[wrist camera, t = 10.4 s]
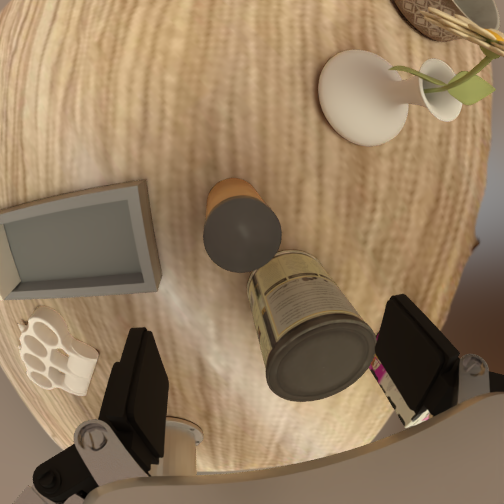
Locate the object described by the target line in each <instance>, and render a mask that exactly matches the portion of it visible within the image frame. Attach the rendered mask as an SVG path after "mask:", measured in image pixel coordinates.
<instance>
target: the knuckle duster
mask: <svg viewBox="0 0 504 504" xmlns="http://www.w3.org/2000/svg"><path fill="white" fill-rule="evenodd" d="M46 325H47V326H48V327H49V328H50V329H51V330H53V331H54V332H53V331H51V330H50V329H49V328H48V327H47V326H46ZM18 326H19V328H20V330H21V332H22V334H21V336H20V338H19V339H20V342H21V345H18V346H17V347H18V348H19V349H20V350H19V352H20V356H21V359H22V360H23V362H24V363H25V365H26V368H27V371H26V374H27V376H28V377H29V378H30V379H31V380H32V381H33V382H34V383H35V384H36V385H38V386H40V387H41V388H44V389H48V390H51V389H54V388H55V387H56V388H61V389H63V390H65V391H67V392H69V393H72V394H75V395H78V396H85V395H86V394H87V391H88V387H89V384H90V381H91V378H92V375H93V371H94V368H95V365H96V363H97V360H98V357H99V354H98V352H97V351H96V349H95V348H93V347H92V346H90V345H88V344H86V343H84V342H82V341H79V340H77V339H75V338H73V336H72V335H71V334H70V333H69V331H68V326H67V324H66V322H65V320H64V319H63V317H62V316H61V315H60V314H59V313H58V312H57V311H55V310H54V309H52V308H50V307H47V306H40V307H38V308H37V309H36V310H35V311H34V312H33V314H32V315H31V317H30V318H29V319H28V324H27V325H24V324H20V323H18ZM58 348H61V349H63V350H64V351H65V352H66V353H67V354H68V355H69V357H67V356H66V355H64V354H62V353H60V352H59V351H58V350H57V349H58ZM59 371H61V372H63V373H65V374H62V373H60V372H59Z"/></svg>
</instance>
